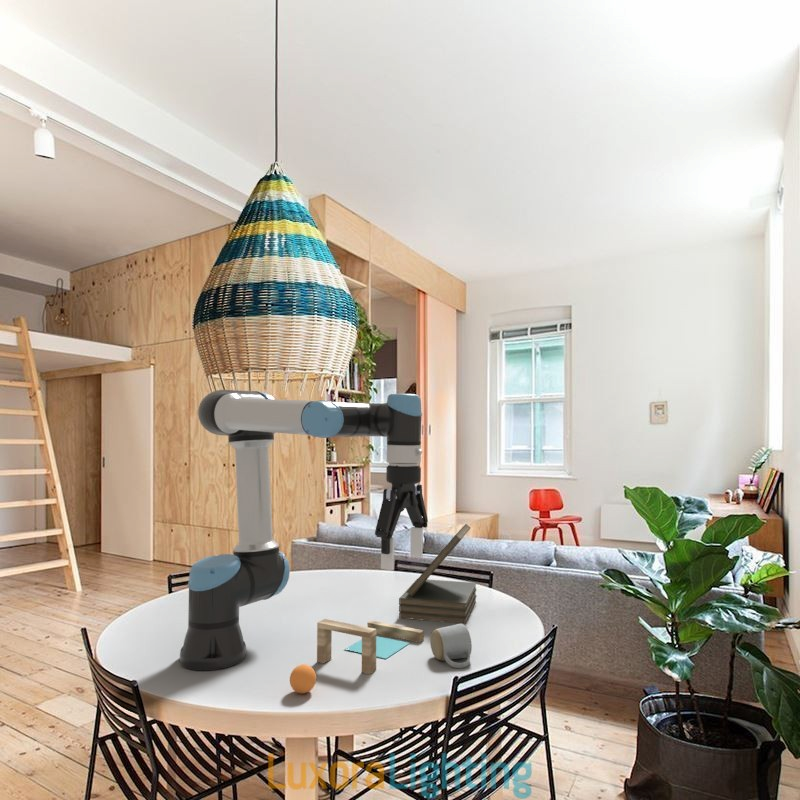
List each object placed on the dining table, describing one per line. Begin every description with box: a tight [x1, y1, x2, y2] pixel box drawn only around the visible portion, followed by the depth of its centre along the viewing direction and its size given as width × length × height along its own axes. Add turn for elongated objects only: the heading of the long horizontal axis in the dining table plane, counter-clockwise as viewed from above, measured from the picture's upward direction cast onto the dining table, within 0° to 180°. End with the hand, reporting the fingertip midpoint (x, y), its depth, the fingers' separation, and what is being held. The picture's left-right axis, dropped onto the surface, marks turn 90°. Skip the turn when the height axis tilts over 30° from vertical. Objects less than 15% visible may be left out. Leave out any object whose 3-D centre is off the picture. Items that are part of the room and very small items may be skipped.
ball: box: [289, 664, 317, 694], centre depth 128 cm, size 6×6×6 cm
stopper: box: [367, 620, 425, 643], centre depth 162 cm, size 16×2×2 cm, turn 61°
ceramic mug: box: [430, 623, 473, 669], centre depth 145 cm, size 11×8×8 cm
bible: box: [398, 523, 477, 624], centre depth 185 cm, size 23×20×25 cm
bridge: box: [316, 618, 377, 675], centre depth 142 cm, size 3×14×9 cm, turn 61°
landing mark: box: [344, 635, 410, 660], centre depth 154 cm, size 12×12×1 cm
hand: (402, 562), depth 132 cm, fingers open, 13 cm apart
